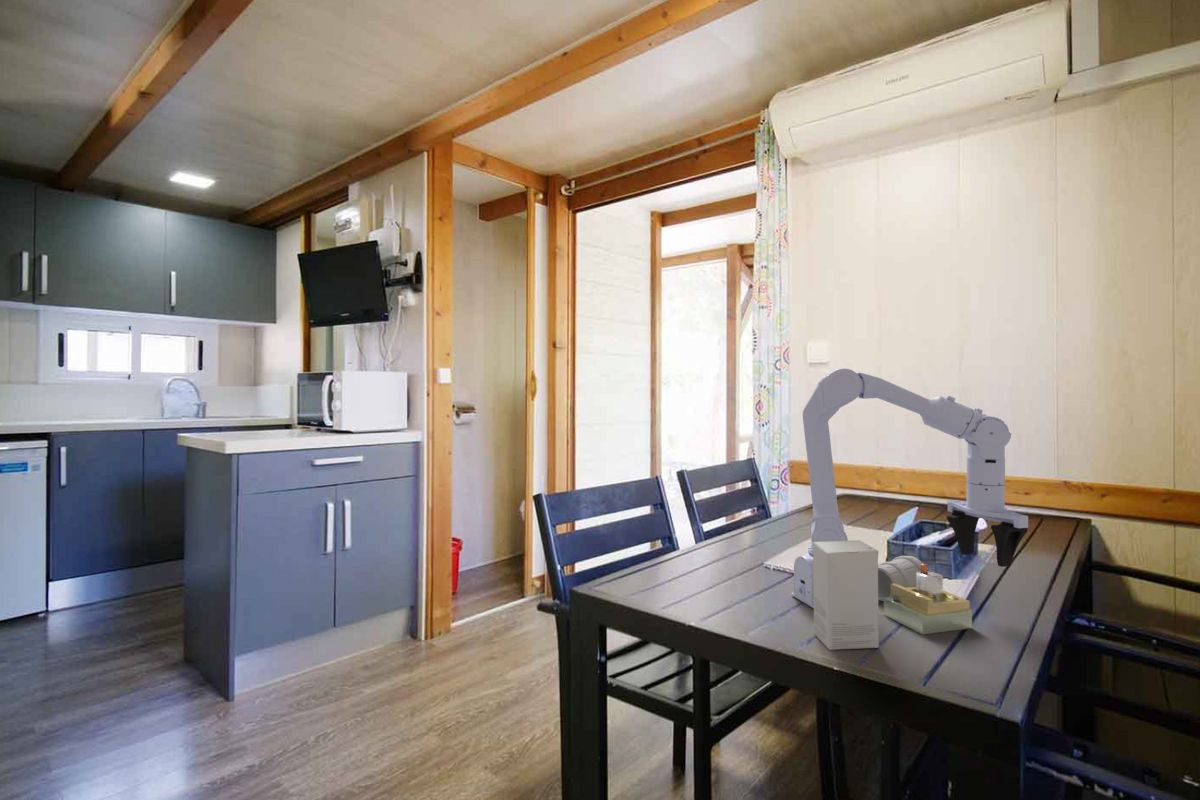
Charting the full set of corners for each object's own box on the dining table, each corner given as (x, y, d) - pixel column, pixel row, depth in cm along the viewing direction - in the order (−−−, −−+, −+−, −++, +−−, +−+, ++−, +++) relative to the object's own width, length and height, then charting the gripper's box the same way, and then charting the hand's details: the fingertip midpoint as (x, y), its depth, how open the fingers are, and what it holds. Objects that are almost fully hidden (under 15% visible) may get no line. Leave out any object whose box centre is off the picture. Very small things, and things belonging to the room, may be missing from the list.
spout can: (948, 606, 102) (948, 568, 102) (929, 608, 101) (929, 570, 101) (929, 598, 106) (929, 562, 106) (911, 600, 105) (911, 564, 105)
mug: (938, 591, 113) (897, 605, 108) (887, 597, 123) (847, 611, 117) (922, 551, 116) (882, 563, 110) (873, 560, 125) (834, 571, 120)
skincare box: (861, 633, 99) (861, 539, 99) (881, 650, 92) (881, 550, 92) (811, 633, 99) (811, 540, 98) (827, 651, 92) (828, 550, 92)
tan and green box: (922, 634, 98) (922, 601, 98) (883, 614, 107) (883, 583, 107) (971, 628, 101) (972, 595, 101) (929, 609, 109) (930, 579, 109)
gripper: (1042, 488, 100) (1042, 569, 100) (968, 476, 114) (968, 547, 114) (1009, 490, 98) (1008, 573, 98) (938, 478, 112) (938, 550, 112)
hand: (984, 559), depth 106 cm, fingers open, 7 cm apart
